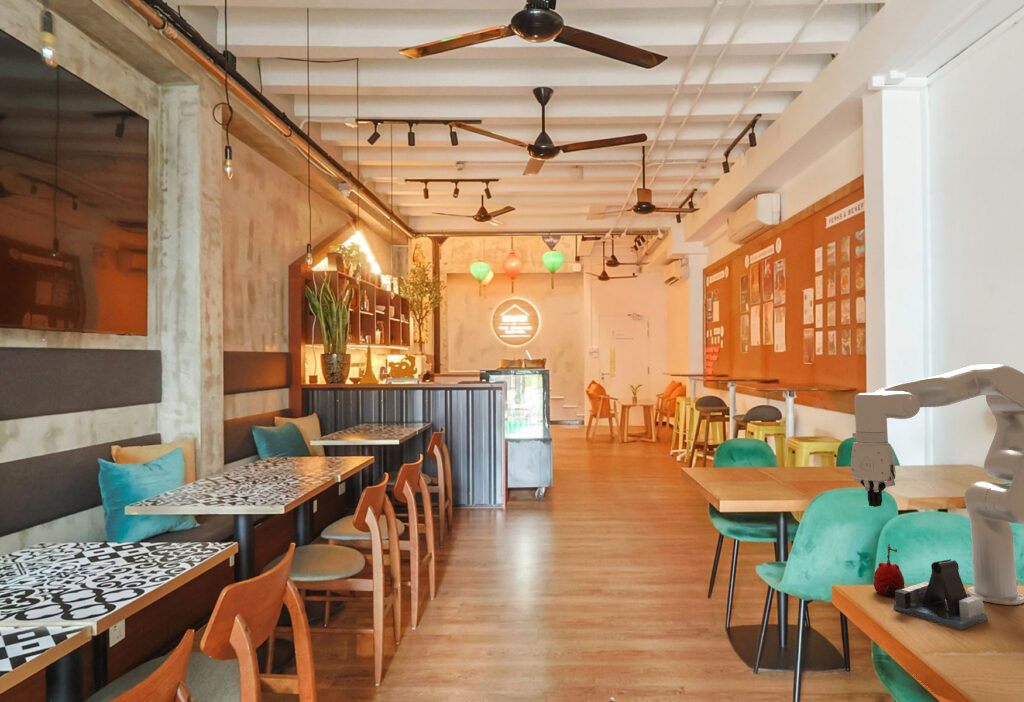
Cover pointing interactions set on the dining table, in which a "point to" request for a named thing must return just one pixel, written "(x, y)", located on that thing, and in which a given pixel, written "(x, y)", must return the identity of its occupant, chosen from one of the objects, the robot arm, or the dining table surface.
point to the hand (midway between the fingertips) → (875, 505)
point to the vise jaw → (911, 595)
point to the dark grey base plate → (968, 614)
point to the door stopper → (945, 587)
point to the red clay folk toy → (888, 577)
